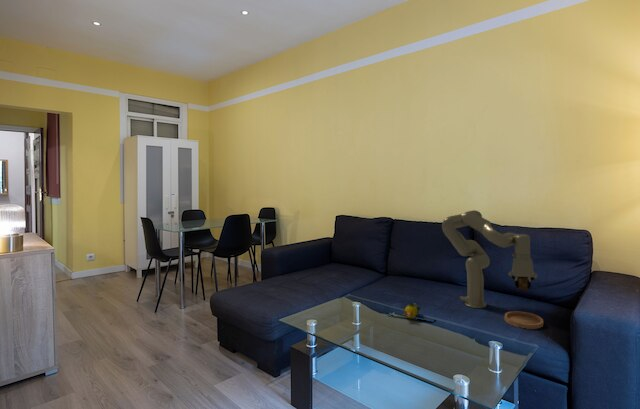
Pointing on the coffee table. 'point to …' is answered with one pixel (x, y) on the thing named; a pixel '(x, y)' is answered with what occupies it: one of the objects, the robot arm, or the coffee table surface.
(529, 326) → the round tray
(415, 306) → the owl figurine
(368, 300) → the coffee table surface
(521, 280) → the walnut bead
